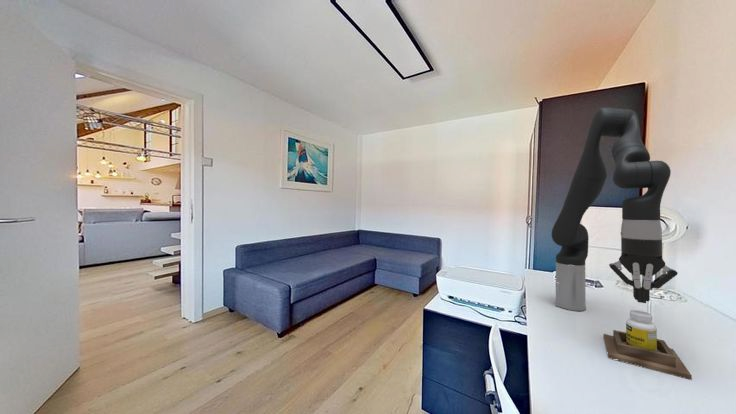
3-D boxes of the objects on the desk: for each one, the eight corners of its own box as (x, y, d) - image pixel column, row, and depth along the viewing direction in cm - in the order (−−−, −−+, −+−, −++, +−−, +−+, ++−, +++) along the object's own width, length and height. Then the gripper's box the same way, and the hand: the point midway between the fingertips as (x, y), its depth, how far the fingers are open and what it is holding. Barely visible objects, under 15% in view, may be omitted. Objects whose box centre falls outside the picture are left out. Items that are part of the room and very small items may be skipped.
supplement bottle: (620, 346, 72) (619, 309, 72) (639, 345, 73) (638, 308, 73) (643, 358, 67) (643, 317, 67) (663, 356, 67) (663, 316, 67)
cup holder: (608, 358, 68) (608, 344, 68) (603, 337, 79) (603, 325, 79) (691, 379, 60) (691, 364, 60) (673, 352, 71) (672, 339, 71)
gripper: (608, 236, 71) (609, 300, 71) (683, 240, 63) (684, 312, 62) (605, 234, 77) (606, 293, 77) (673, 237, 68) (674, 303, 68)
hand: (641, 302), depth 69 cm, fingers closed
